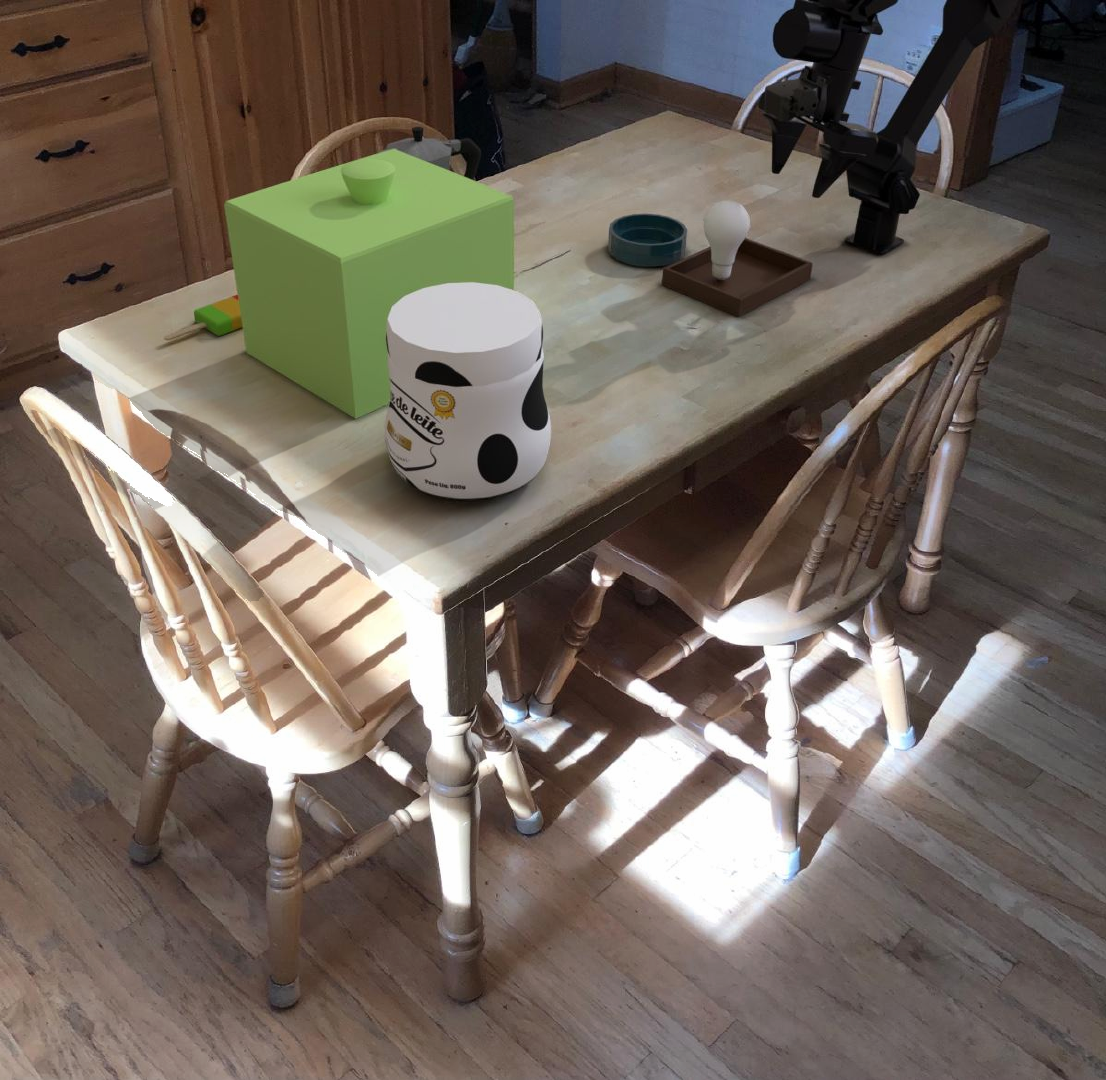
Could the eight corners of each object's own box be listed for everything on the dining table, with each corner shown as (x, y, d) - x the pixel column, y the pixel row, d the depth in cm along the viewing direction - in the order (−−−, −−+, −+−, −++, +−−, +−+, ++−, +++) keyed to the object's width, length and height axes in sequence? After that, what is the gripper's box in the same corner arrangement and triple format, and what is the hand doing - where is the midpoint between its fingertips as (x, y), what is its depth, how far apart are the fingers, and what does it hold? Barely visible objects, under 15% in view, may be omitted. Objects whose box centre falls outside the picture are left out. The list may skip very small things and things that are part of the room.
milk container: (359, 494, 126) (344, 339, 115) (429, 413, 139) (421, 266, 128) (515, 531, 122) (514, 373, 111) (572, 443, 135) (577, 294, 124)
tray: (734, 250, 176) (736, 234, 174) (810, 279, 169) (813, 262, 167) (661, 285, 167) (662, 267, 165) (738, 317, 159) (740, 299, 158)
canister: (403, 289, 164) (392, 117, 150) (514, 345, 152) (513, 163, 138) (246, 352, 150) (218, 168, 136) (355, 418, 138) (337, 224, 124)
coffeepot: (388, 274, 168) (379, 144, 157) (369, 247, 175) (359, 121, 164) (493, 257, 173) (492, 130, 162) (471, 232, 179) (468, 108, 169)
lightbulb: (724, 293, 164) (733, 215, 157) (689, 279, 167) (696, 201, 160) (752, 280, 167) (761, 202, 161) (717, 266, 171) (725, 189, 164)
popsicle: (280, 314, 158) (278, 300, 157) (178, 353, 149) (175, 339, 148) (255, 300, 161) (253, 287, 160) (154, 338, 152) (151, 324, 151)
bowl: (642, 230, 181) (644, 207, 179) (700, 252, 175) (702, 229, 173) (592, 251, 175) (593, 228, 173) (650, 275, 169) (652, 252, 167)
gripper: (745, 37, 158) (709, 156, 166) (833, 78, 145) (789, 205, 153) (810, 49, 164) (772, 164, 172) (900, 90, 151) (855, 212, 158)
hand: (794, 185), depth 164 cm, fingers open, 9 cm apart
